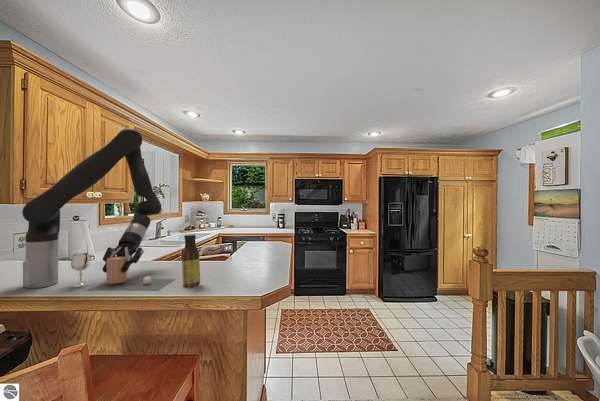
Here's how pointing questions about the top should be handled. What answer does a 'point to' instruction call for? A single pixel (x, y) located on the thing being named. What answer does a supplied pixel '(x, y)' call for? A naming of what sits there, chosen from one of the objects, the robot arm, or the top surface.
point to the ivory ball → (147, 280)
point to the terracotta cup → (115, 269)
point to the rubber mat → (134, 285)
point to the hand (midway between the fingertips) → (113, 271)
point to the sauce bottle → (190, 262)
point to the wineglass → (80, 265)
